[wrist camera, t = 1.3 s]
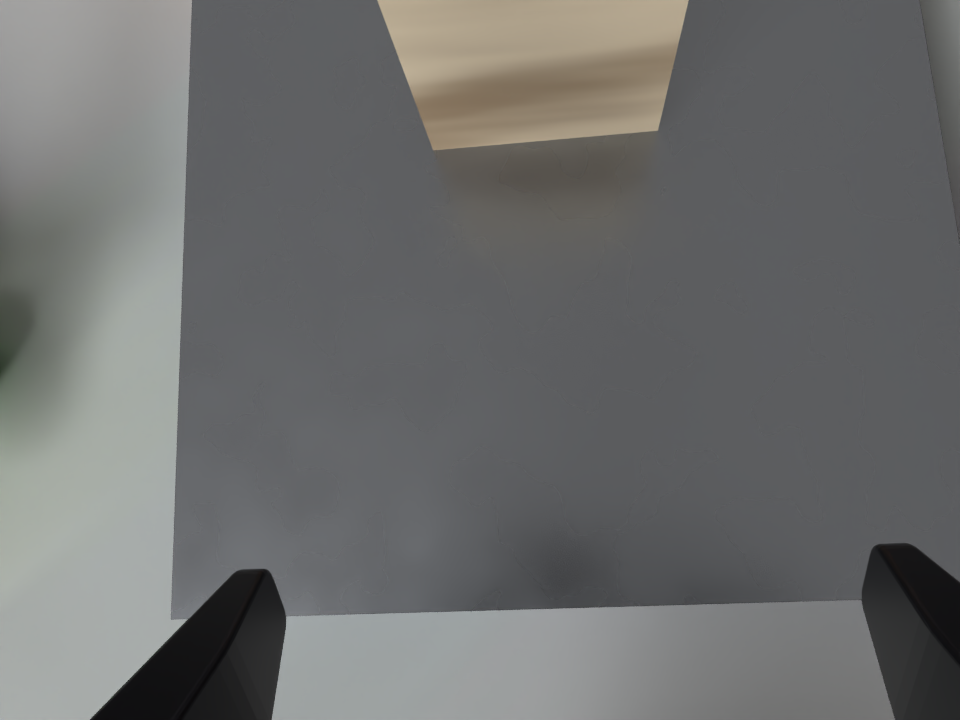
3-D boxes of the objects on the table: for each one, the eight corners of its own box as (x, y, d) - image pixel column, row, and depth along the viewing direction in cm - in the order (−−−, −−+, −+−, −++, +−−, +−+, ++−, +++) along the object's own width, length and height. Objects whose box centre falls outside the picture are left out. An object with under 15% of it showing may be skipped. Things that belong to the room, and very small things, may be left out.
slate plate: (945, 582, 21) (1017, 595, 18) (229, 604, 23) (171, 619, 20) (848, -70, 25) (892, -162, 22) (241, -4, 27) (194, -78, 24)
